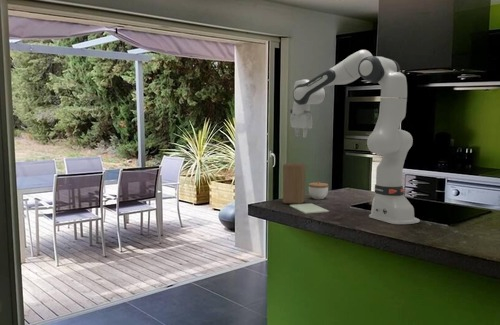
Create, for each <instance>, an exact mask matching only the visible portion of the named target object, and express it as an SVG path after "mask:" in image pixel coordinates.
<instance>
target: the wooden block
mask: <svg viewBox="0 0 500 325" xmlns="http://www.w3.org/2000/svg"><path fill="white" fill-rule="evenodd" d="M305 201H306V163H303V162H301V163H300V162H288V163H285V164H282V203H283V204H289V205H295V204H304V202H305Z"/></svg>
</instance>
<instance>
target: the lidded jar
mask: <svg viewBox="0 0 500 325" xmlns="http://www.w3.org/2000/svg"><path fill="white" fill-rule="evenodd" d="M308 193H309V196H311V198H312V199H313V198H314V200H323V199H325V198H326V196H328V193H329V184H328V183H325V182H320V181H319V180H317V182H310V183H308Z"/></svg>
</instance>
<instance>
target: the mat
mask: <svg viewBox="0 0 500 325" xmlns="http://www.w3.org/2000/svg"><path fill="white" fill-rule="evenodd" d="M289 206H290V207H291V208H293V209H295V210H297V211H298V212H299V211H300V212H302V213H303V214H305V215H307V214H319V213H329V212H330V211H329V209H326V208H323V207H321V206H319V205H316V204H314V203H312V202H311V203H302V204H289Z"/></svg>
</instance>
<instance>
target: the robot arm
mask: <svg viewBox="0 0 500 325" xmlns="http://www.w3.org/2000/svg"><path fill="white" fill-rule="evenodd" d="M360 77H361V78H362V79H363V80H365V81H368V82H371V83H373V84H377V83H378V84H379V85H380V100H379V102H380V103H379V111H378V112H379V113H378V116H377V117H378V118H377V121H376V123H375V126H374V129H373V131H372V132H371V133H370V134H369V136H368V137H367V141H366V144H367V148H368V150H369V151H370V153H372V154H375V155H379V156H382V157H381V160H380V162H379V164H378V165H377V166H376V170H375V171H376V174H375V177H376V179H375V184H374V197H373V198H372V204H371V211H370V214H369V215H368V218H370V219H375V220H378V221H381V222H384V223H389V224H392V225H411V224H413V225H414V224H417V223H421V220H420V219H419V218H417V217H415V208H414V206H413V205H412V204H411V202H410V201H409V200H408V199H407V197H406V196H405V193H406V189H404V187H403V184H402V183H403V170H404V165H405V160H406V159H407V155H408V152H409V150H410V149H411V147H412V146H413V144H414V143H413V142H414V141H413V140H414V139H413V136H412V134H411V133H410V132H408V131H406V130H405V129H404V130H403V129H400V126H401V123H402V121H403V120H404V119H405V118H406V114H407V102H408V82H407V77H406V75H405V74H404V73H402V72H401V67H400V65H399V63H398V62H397V61H396V60H394V59H392V58H387V57H384V56H377V55H376V56H375V55H373V54H372V53H371V52H370V51H369V50H367V49H360V50H358V51H356V52H353V53H352V54H350V55H348V56H347V57H346V58H345V59H343V60H342V61H339V62H338V63H337V64H336V65H334V66H332V67H330V68H329V69H327V70H326V71H324V72H322V73H320V74H318V75H317V76H315V77H314V78H311V79H310V80H309V78H307V79H306V78H303V79H297V80H296V81H295V82H294V85H293V91H292V98H293V104H292V105H293V106H292V108H291V109H290V110H289V115H290V116H289V117H290V118H289V119H290V120H289V121H290V122H289V123H290V127H291V128H293V129H294V133H295V136H296V137H300V136H301V137H302V138H307V135H308V131H309V130H311V129H312V128H313V126H314V125H313V116H312V114H311V105H320V104H322V103H323V102H324V101H325V99H326V90H325V88H326V87H329V86H335V85H336V86H337V85H339V86H340V85H348V84H351V83H353V82H355V81H357V80H358V79H359V78H360ZM300 129H302V134H301V133H300Z"/></svg>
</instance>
